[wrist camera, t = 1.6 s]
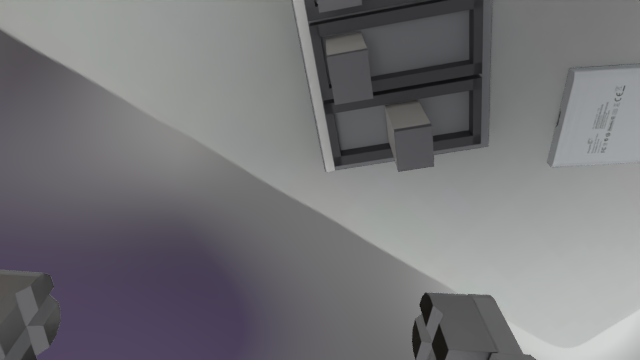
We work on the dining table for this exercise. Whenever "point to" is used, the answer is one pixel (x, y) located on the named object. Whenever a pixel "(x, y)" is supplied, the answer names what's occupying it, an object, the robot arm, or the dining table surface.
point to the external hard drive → (598, 117)
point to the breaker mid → (349, 68)
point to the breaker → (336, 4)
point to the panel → (401, 74)
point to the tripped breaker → (409, 135)
